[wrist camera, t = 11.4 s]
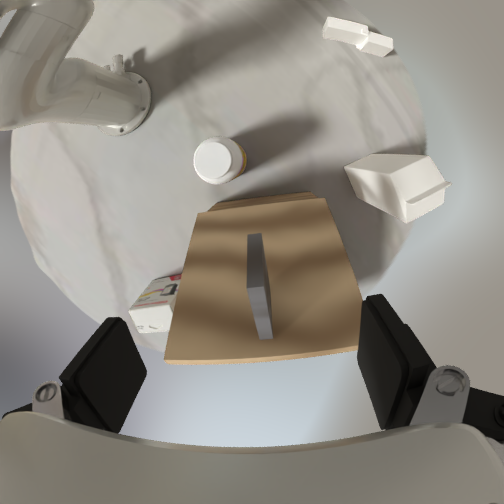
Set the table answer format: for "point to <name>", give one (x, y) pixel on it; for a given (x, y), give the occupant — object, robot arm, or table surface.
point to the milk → (398, 184)
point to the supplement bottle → (219, 160)
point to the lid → (265, 287)
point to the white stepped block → (357, 36)
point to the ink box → (156, 305)
